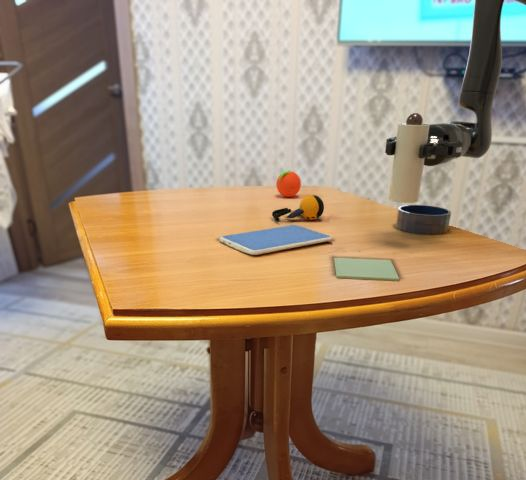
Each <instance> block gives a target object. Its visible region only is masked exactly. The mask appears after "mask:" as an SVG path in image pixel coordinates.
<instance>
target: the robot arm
mask: <svg viewBox="0 0 526 480" xmlns="http://www.w3.org/2000/svg"><path fill="white" fill-rule="evenodd" d="M515 1H516V2H518V3H520V4H522V5H524V6H526V0H515ZM504 2H505V0H474V6H473V16H472V26H471V27H472V28H471V38H470V45H469V52H468V58H467V63H466V68H465V71H464V76H463V79H462V84H461V88H460V92H459V97H458V106H459V107H460V108H461V109H463V110H466V111H468V112H472V113H474V115H475V117H476V122H469V121H460V120H459V121H458V120H452V121H449V122H448V123H447V122H443V123H434V124H429V125H430V128H429V134H428V141H427V144H422V145H420V149H419V158H425V160H424V166H426V167H434V166H438V165H443V164H446V163H449V162H451V161H453V160H457V159H459V158H461V157H464V158H470V159H480V158H482V157H483V156H485V155H486V153H487V152H488V151H489V149H490V147H491V146H492V145H491V144H492V140H493V139H492V138H493V137H492V136H493V134H492V133H493V130H492V129H493V128H492V119H493V118H492V116H493V105H494V101H495V100H494V99H495V97H496V96H495V95H496V92H497V88H498V84H499V80H500V77H501V72H502V65H503V47H502V37H501V35H502V34H501V33H502V32H501V21H502V20H501V18H502V12H503V7H504ZM396 137H397V136H393V137H389V138H386V143H385V150H384V153H385V154H386V156H394V153H395V145H396Z"/></svg>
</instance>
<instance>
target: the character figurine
mask: <svg viewBox="0 0 526 480" xmlns="http://www.w3.org/2000/svg"><path fill="white" fill-rule="evenodd" d="M324 211H325V204H324V201H323V199H322V198H321V197H320V196H319V195H315V194H309V195H307V196H305V197H303V198H302V200H301V201H300V204H299V208H297V209H295V210H294V211H293V212H292V209H291V208H288V207H283V208H278V209H276V210H273V211H272V213H271V216H272V217H273V219H274V221H276V222H279V221H280V218H281V217H283V216H285V215H287V216H286V218H287V219H295V218H297V217H299V216H302V217H303V218H304V219H306V220H308V221H315V220H318V219H319V218H321V217H322V216H323V214H324Z"/></svg>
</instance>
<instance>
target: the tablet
mask: <svg viewBox="0 0 526 480" xmlns="http://www.w3.org/2000/svg"><path fill="white" fill-rule="evenodd" d="M219 241H220V242H221V243H223V244H225V245H226V246H228V247H230V248H232V249H234V250H237V251H240V252H242V253H245V254H247V255H251V256H258V255H263V254H268V253H273V252H279V251H283V250H284V251H285V250H291V249H295V248H300V247H304V246H305V247H306V246H310V245H315V244H320V243H326V242H331V241H333V237H332V236H331V235H328V234H325V233H323V232H319V231H316V230H313V229H310V228H307V227H304V226H301V225H297V224H290V225H284V226H283V225H282V226H278V227H272V228H265V229H259V230H253V231H247V232H239V233H234V234H228V235H222V236H219Z"/></svg>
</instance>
